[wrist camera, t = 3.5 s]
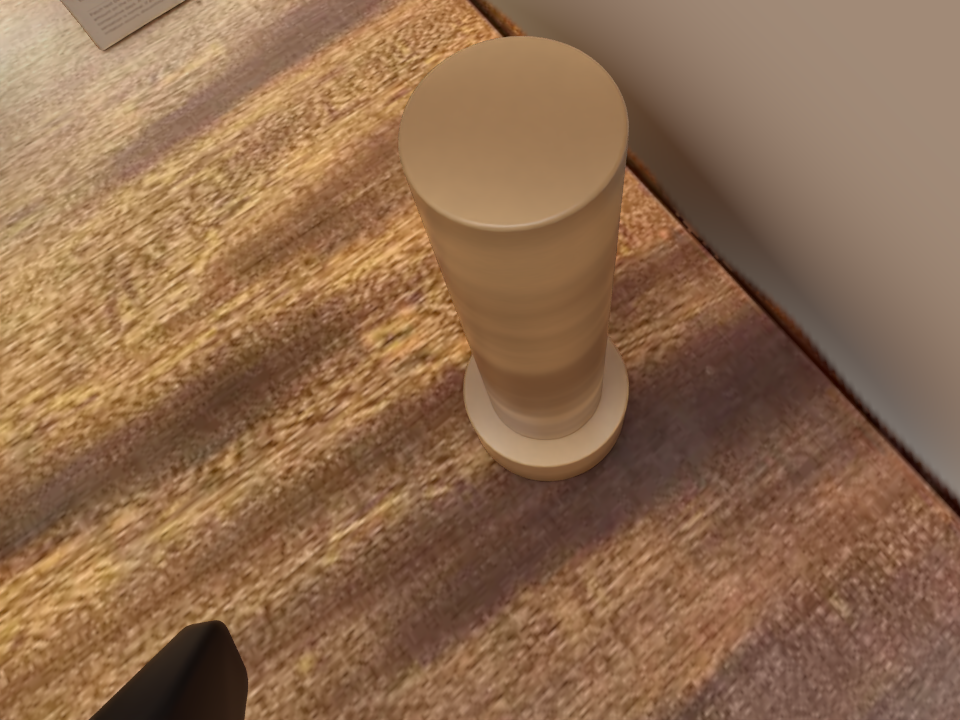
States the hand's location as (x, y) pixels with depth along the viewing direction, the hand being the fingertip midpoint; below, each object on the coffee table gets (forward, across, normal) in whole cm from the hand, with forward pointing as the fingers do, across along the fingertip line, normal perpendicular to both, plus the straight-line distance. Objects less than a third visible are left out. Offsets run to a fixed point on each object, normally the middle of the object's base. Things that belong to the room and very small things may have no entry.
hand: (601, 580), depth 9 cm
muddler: (+12, 0, +4) cm, 13 cm away
